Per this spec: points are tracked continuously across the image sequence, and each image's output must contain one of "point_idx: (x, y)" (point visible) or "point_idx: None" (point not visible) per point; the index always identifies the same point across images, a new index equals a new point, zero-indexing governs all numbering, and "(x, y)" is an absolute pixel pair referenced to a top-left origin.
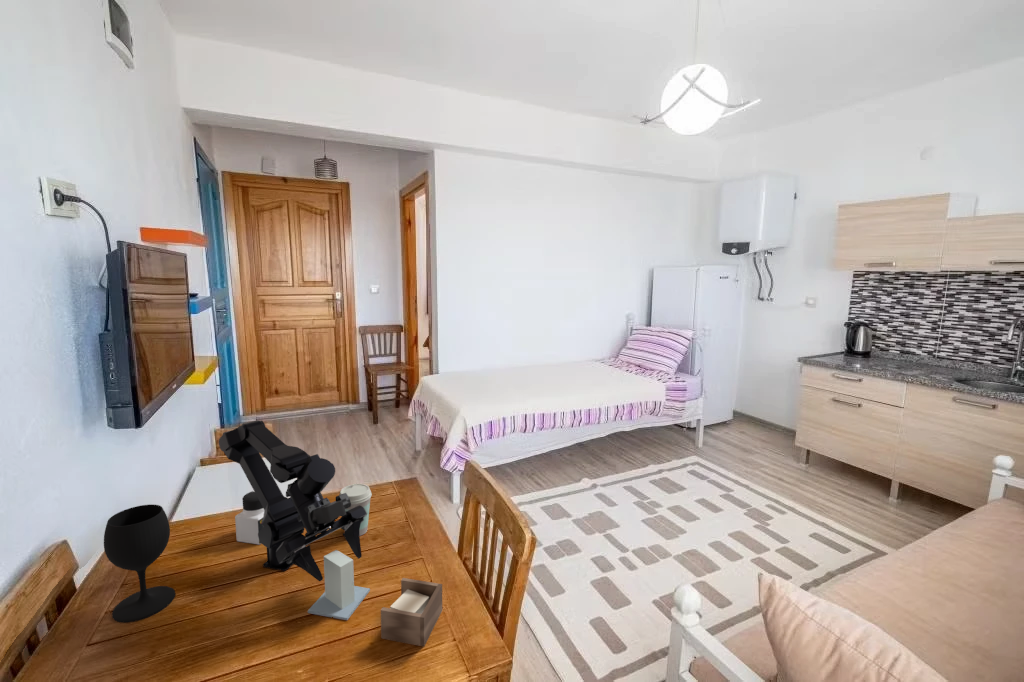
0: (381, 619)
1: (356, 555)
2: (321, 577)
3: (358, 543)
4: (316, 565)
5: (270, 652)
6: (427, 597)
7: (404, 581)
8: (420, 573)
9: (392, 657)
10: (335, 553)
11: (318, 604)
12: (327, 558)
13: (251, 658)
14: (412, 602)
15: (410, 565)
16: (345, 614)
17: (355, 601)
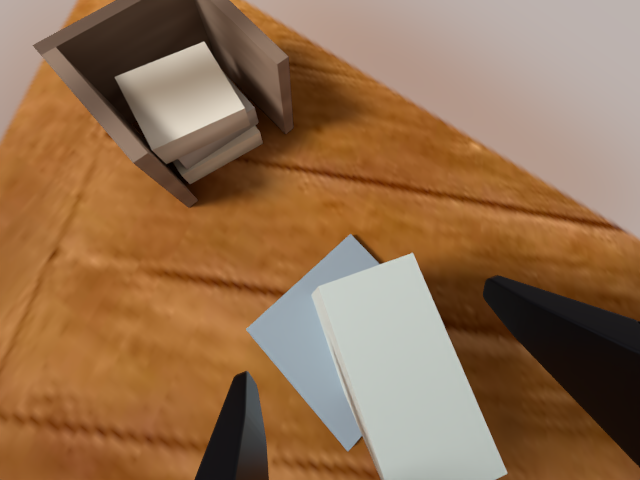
0: (289, 84)
1: (259, 413)
2: (501, 279)
3: (211, 478)
4: (590, 323)
5: (538, 237)
6: (121, 78)
7: (140, 144)
8: (56, 316)
9: (292, 70)
10: (417, 460)
11: None
12: (481, 421)
13: (579, 244)
14: (175, 85)
15: (53, 389)
16: (351, 250)
17: (308, 291)
